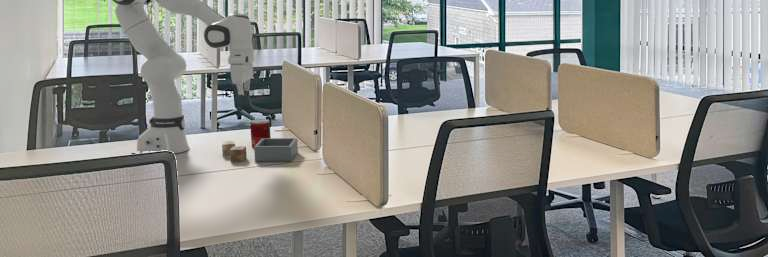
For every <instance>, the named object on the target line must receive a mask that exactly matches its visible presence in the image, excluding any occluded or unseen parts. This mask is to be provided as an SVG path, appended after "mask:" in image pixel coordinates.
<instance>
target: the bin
mask: <svg viewBox="0 0 768 257" xmlns="http://www.w3.org/2000/svg"><path fill="white" fill-rule="evenodd" d="M253 149H254V162H255V163H293V161H294V159H295V158H296V157H297V155H298V153H299V147H298V137H286V138H285V137H283V138H282V137H274V138H273V137H272V138H262V139H261V140H260V141H259V142H258V143H257V144H256V145H255V146H254V148H253Z"/></svg>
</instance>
